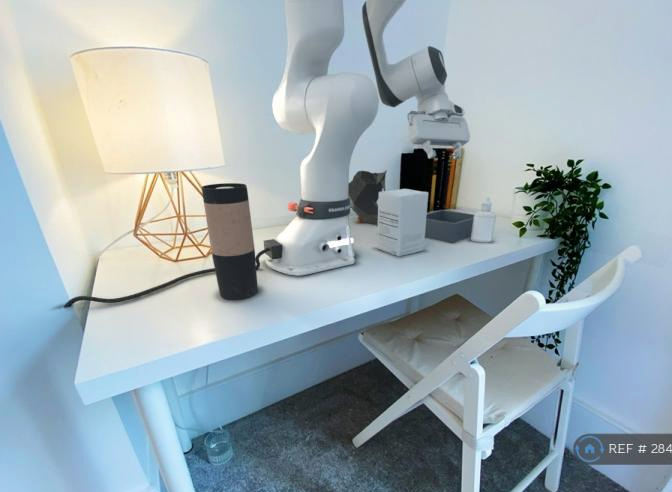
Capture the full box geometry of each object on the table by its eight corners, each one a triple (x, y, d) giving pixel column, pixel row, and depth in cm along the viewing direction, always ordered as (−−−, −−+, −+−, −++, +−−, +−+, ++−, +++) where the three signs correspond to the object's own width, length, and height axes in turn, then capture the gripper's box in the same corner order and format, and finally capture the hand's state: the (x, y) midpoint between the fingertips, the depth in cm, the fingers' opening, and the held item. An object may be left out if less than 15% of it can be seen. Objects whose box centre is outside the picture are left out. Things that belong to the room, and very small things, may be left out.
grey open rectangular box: (452, 243, 95) (455, 223, 93) (413, 234, 104) (414, 216, 102) (478, 233, 104) (481, 215, 102) (440, 226, 113) (442, 209, 111)
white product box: (400, 243, 95) (404, 188, 89) (424, 251, 88) (430, 191, 82) (375, 248, 91) (377, 191, 85) (398, 257, 84) (402, 195, 78)
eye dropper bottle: (486, 244, 93) (494, 199, 88) (467, 240, 97) (473, 197, 92) (493, 241, 96) (501, 197, 91) (475, 237, 100) (481, 195, 95)
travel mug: (210, 294, 65) (190, 186, 57) (240, 281, 71) (227, 182, 63) (237, 304, 61) (220, 190, 53) (267, 289, 67) (256, 184, 59)
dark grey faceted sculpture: (366, 216, 129) (367, 166, 121) (399, 222, 118) (402, 168, 111) (339, 222, 120) (339, 168, 113) (372, 229, 110) (374, 171, 102)
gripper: (413, 103, 92) (423, 151, 91) (468, 109, 101) (478, 153, 100) (399, 117, 98) (409, 162, 97) (452, 121, 107) (462, 163, 106)
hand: (445, 158), depth 98 cm, fingers open, 8 cm apart
